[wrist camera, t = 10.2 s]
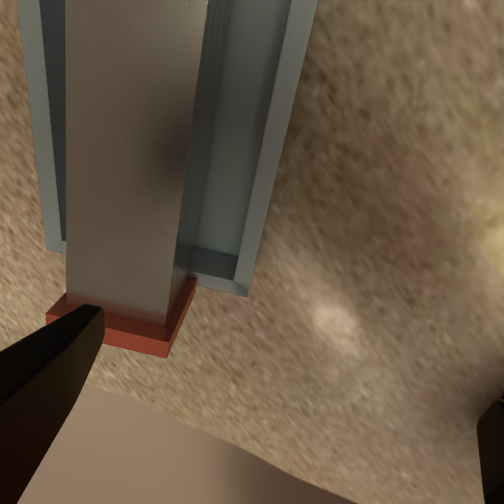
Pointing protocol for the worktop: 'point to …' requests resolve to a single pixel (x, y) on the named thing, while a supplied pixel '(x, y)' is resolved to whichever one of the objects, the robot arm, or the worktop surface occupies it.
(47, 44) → the tray
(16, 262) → the worktop surface
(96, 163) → the red capped grey bar
